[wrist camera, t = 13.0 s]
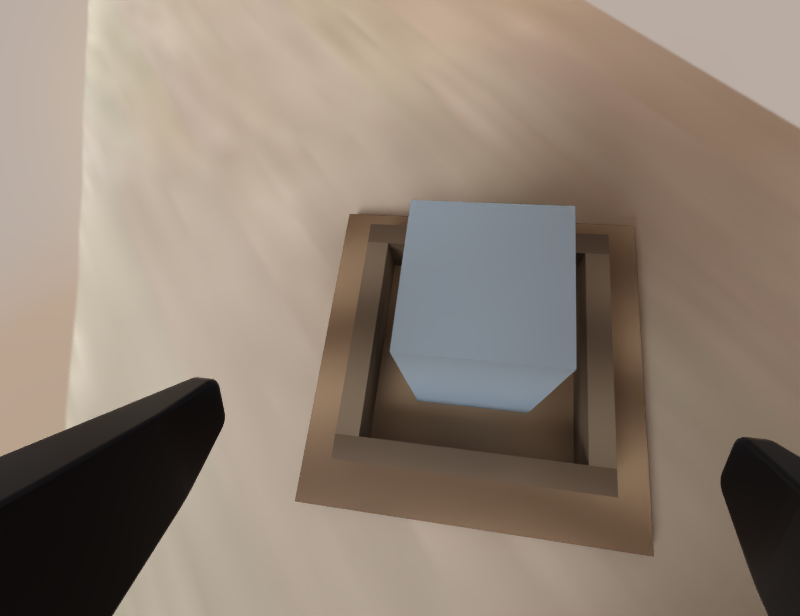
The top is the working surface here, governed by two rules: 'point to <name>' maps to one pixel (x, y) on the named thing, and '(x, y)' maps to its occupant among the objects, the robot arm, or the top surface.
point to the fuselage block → (486, 303)
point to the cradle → (485, 413)
